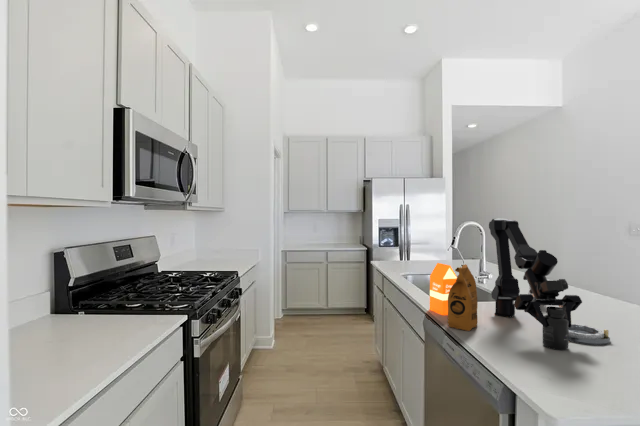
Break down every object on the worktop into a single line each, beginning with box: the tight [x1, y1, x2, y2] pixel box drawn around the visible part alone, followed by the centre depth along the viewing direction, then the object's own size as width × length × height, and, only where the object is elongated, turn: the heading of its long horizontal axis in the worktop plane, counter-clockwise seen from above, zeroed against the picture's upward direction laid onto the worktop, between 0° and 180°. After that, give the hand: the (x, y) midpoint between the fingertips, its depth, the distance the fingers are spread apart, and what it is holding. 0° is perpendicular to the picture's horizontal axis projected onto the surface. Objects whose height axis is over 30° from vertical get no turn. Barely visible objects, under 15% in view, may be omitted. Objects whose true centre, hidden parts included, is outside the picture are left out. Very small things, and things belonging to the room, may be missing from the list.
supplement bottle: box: [542, 305, 570, 351], centre depth 112 cm, size 7×7×12 cm
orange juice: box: [429, 262, 458, 316], centre depth 151 cm, size 8×9×20 cm
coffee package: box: [447, 264, 478, 332], centre depth 132 cm, size 10×12×22 cm
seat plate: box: [569, 323, 611, 346], centre depth 121 cm, size 16×16×4 cm
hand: (558, 326), depth 111 cm, fingers closed on supplement bottle, 7 cm apart
